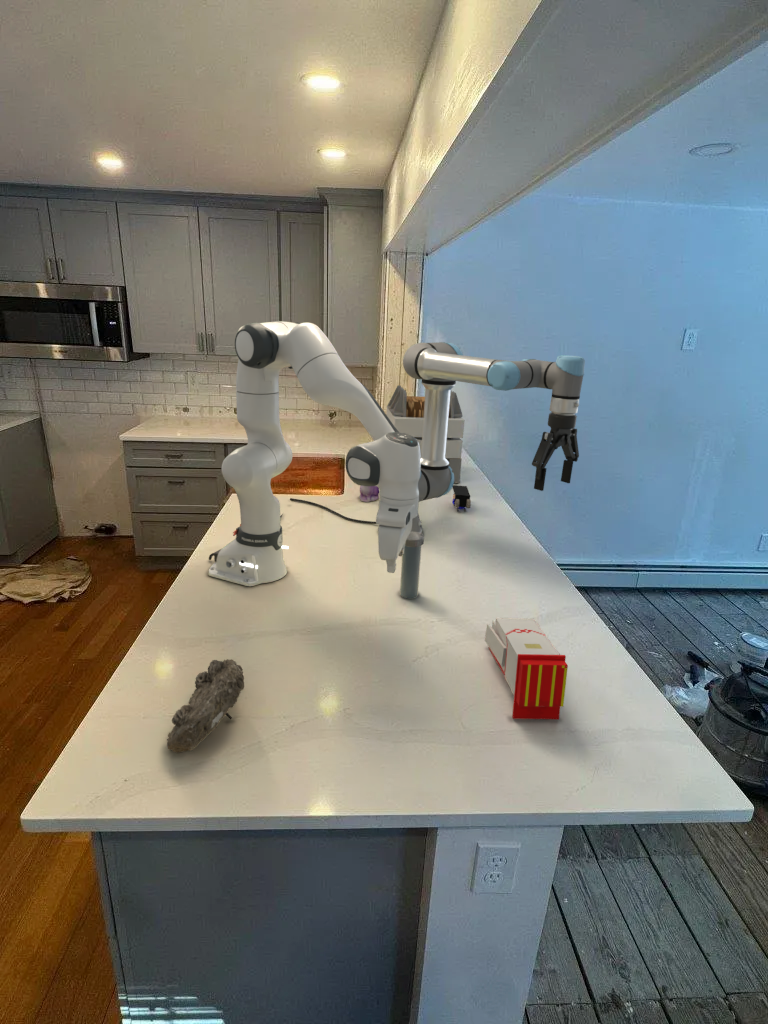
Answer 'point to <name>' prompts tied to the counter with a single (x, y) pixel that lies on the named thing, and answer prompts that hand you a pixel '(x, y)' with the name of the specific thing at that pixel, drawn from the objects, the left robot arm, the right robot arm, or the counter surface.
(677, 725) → the counter surface
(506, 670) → the toy
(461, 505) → the figurine character
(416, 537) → the lid
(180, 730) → the fossil
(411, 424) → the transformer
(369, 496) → the figurine
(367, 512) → the counter surface
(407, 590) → the jar
